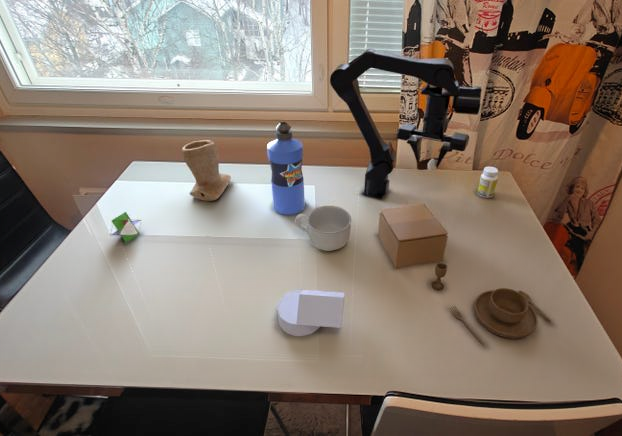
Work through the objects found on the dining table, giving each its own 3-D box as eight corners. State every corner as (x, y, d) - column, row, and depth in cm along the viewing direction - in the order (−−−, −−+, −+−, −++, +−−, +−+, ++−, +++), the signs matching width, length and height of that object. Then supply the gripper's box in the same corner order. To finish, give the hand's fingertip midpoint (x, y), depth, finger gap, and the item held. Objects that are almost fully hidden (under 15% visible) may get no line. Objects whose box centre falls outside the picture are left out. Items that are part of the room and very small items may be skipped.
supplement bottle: (491, 190, 120) (497, 166, 115) (494, 198, 116) (501, 173, 111) (475, 189, 120) (481, 165, 116) (478, 197, 117) (484, 172, 112)
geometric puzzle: (100, 232, 98) (105, 216, 92) (123, 218, 103) (129, 202, 97) (122, 252, 98) (128, 237, 93) (143, 237, 103) (150, 222, 98)
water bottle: (311, 208, 111) (308, 125, 97) (282, 218, 107) (274, 133, 93) (295, 194, 118) (290, 114, 103) (267, 203, 113) (258, 121, 99)
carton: (377, 235, 101) (380, 209, 96) (420, 229, 103) (424, 203, 98) (395, 268, 90) (398, 240, 86) (442, 260, 93) (448, 233, 88)
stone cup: (200, 177, 126) (190, 133, 118) (235, 179, 125) (228, 135, 117) (179, 201, 114) (167, 155, 106) (218, 204, 113) (209, 157, 104)
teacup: (356, 237, 100) (358, 211, 96) (339, 262, 92) (339, 235, 88) (309, 223, 105) (308, 198, 100) (289, 246, 97) (286, 220, 92)
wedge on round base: (344, 304, 81) (283, 299, 82) (345, 280, 77) (281, 276, 78) (341, 339, 74) (274, 334, 75) (341, 315, 70) (271, 310, 71)
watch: (423, 174, 107) (425, 163, 105) (411, 168, 111) (413, 156, 109) (443, 168, 111) (445, 156, 109) (431, 161, 114) (433, 150, 112)
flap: (380, 210, 96) (380, 209, 96) (424, 204, 98) (424, 203, 98) (388, 225, 91) (388, 224, 91) (435, 219, 94) (435, 217, 93)
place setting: (489, 355, 71) (496, 334, 68) (426, 284, 86) (430, 264, 83) (558, 325, 77) (568, 304, 73) (488, 263, 92) (494, 244, 88)
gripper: (478, 107, 104) (466, 160, 113) (411, 97, 111) (405, 148, 120) (470, 121, 96) (458, 176, 105) (398, 109, 103) (393, 162, 111)
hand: (427, 164), depth 110 cm, fingers closed on watch, 5 cm apart
